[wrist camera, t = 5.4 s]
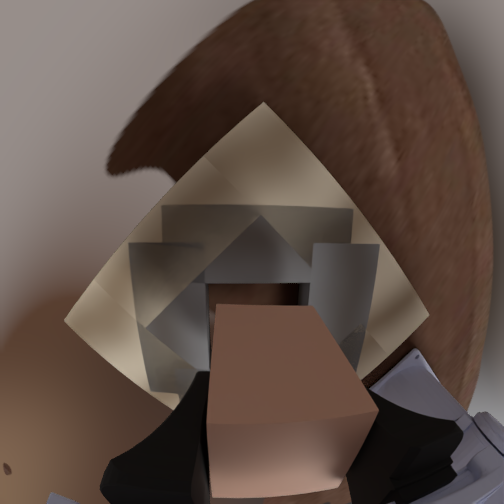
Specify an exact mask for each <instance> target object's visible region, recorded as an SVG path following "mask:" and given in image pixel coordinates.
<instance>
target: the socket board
mask: <svg viewBox="0 0 504 504" xmlns="http://www.w3.org/2000/svg"><path fill="white" fill-rule="evenodd" d="M208 283H299V293H298V305H297V306H313V307H314V308H315V310H316V311H317V313H318V314H319V316H320V317H321V319H322V320H323V322H324V324H325V325H326V327H327V328H328V330H329V331H330V333H331V334H332V336H333V338H334V339H335V341H336V342H337V344H338V345H339V347H340V348H341V350H342V352H343V353H344V355H345V356H346V358H347V359H348V361H349V363H350V364H351V366H352V367H353V369H354V371H355V372H356V374H357V375H358V377H359V379H360V380H362V379H363V378H364V377H365V376H366V375H368V374H369V373H370V372H371V371H372V370H373V369H375V368H376V367H377V366H378V365H379V364H380V363H381V362H382V361H384V360H385V359H386V358H387V357H388V356H389V355H390V354H391V353H392V352H393V351H394V350H395V349H396V348H398V347H399V346H400V345H401V344H402V343H403V342H404V341H405V340H406V339H407V338H408V337H409V336H410V335H411V334H412V333H413V332H414V331H415V330H416V329H417V328H418V327H419V326H420V324H421V323H422V322H423V321H424V320H425V319H426V318H427V317H428V316H429V313H428V312H427V310H426V308H425V306H424V305H423V303H422V301H421V300H420V298H419V296H418V295H417V293H416V292H415V290H414V288H413V287H412V285H411V283H410V282H409V280H408V279H407V277H406V276H405V274H404V273H403V271H402V269H401V268H400V266H399V265H398V263H397V262H396V260H395V259H394V257H393V256H392V254H391V253H390V252H389V250H388V249H387V247H386V246H385V244H384V243H383V242H382V240H381V239H380V237H379V236H378V234H377V233H376V232H375V230H374V229H373V228H372V226H371V225H370V224H369V222H368V221H367V219H366V218H365V217H364V215H363V214H362V213H361V212H360V210H359V209H358V208H357V206H356V205H355V204H354V202H353V201H352V200H351V199H350V197H349V196H348V195H347V194H346V192H345V191H344V190H343V189H342V187H341V186H340V185H339V184H338V182H337V181H336V180H335V179H334V178H333V176H332V175H331V174H330V173H329V172H328V171H327V169H326V168H325V167H324V166H323V165H322V164H321V162H320V161H319V160H318V159H317V158H316V157H315V155H314V154H313V153H312V152H311V151H310V150H309V149H308V148H307V147H306V145H305V144H304V143H303V142H302V141H301V140H300V139H299V138H298V137H297V136H296V135H295V133H294V132H293V131H292V130H291V129H290V128H289V127H288V126H287V125H286V124H285V123H284V122H283V121H282V120H281V119H280V118H279V117H278V116H277V115H276V114H275V113H274V112H273V111H272V110H271V109H270V108H269V107H268V106H267V105H266V104H265V103H264V102H263V103H262V104H261V105H260V106H258V107H257V108H256V109H255V110H254V111H252V112H251V113H250V114H249V115H248V116H247V117H245V118H244V119H243V120H242V121H241V122H240V123H239V124H237V125H236V126H235V127H234V128H233V129H232V130H231V131H230V132H228V133H227V134H226V135H225V136H224V137H223V138H222V139H221V140H220V141H219V142H218V143H216V144H215V145H214V146H213V147H212V148H211V149H210V150H209V151H208V152H207V153H206V154H205V155H204V156H203V157H202V158H201V159H200V160H199V161H198V162H197V163H196V164H195V165H194V166H193V167H192V168H191V169H190V170H189V171H188V172H187V173H186V174H185V175H184V176H183V177H182V178H181V179H180V180H179V181H178V182H177V183H176V184H175V185H174V186H173V187H172V188H171V189H170V190H169V191H168V192H167V194H165V195H164V196H163V198H162V199H161V200H160V201H159V202H158V203H157V204H156V205H155V206H154V207H153V209H151V211H150V212H149V213H148V214H147V215H146V216H145V217H144V218H143V220H142V221H141V222H140V223H139V224H138V225H137V227H136V228H135V229H134V230H133V231H132V232H131V233H130V235H129V236H128V237H127V238H126V239H125V241H124V242H123V243H122V244H121V245H120V247H119V248H118V249H117V250H116V251H115V253H114V254H113V255H112V256H111V258H110V259H109V260H108V261H107V263H106V264H105V265H104V267H103V268H102V269H101V270H100V272H99V273H98V274H97V276H96V277H95V278H94V280H93V281H92V282H91V283H90V285H89V286H88V287H87V289H86V290H85V292H84V293H83V294H82V296H81V297H80V299H79V300H78V301H77V303H76V304H75V306H74V307H73V308H72V310H71V311H70V313H69V314H68V316H67V317H66V319H65V320H64V321H65V322H66V323H67V324H68V325H69V326H70V327H71V328H72V329H73V330H74V331H75V332H76V333H77V334H78V335H79V336H80V337H81V338H82V339H83V340H85V342H86V343H88V344H89V345H90V346H91V347H92V348H93V349H94V350H95V351H97V352H98V353H99V354H100V355H101V356H102V357H103V358H105V359H106V360H107V361H108V362H109V363H110V364H112V365H113V366H114V367H115V368H117V369H118V370H119V371H121V372H122V373H123V374H124V375H125V376H127V377H128V378H129V379H130V380H132V381H133V382H134V383H136V384H137V385H138V386H140V387H141V388H142V389H144V390H145V391H147V392H148V393H149V394H151V395H152V396H154V397H155V398H157V399H158V400H159V401H161V402H162V403H164V404H165V405H167V406H168V407H170V408H171V409H173V410H174V409H175V408H176V406H177V405H178V404H179V402H180V401H181V399H182V398H183V396H184V395H185V393H186V392H187V390H188V388H189V387H190V385H191V383H192V381H193V379H194V377H195V374H196V373H197V372H198V371H210V368H211V356H212V350H211V344H210V325H209V324H210V322H209V294H208Z"/></svg>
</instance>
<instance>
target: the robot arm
mask: <svg viewBox="0 0 504 504" xmlns="http://www.w3.org/2000/svg"><path fill="white" fill-rule="evenodd" d="M209 380H210V371H198V372H197V373H196V374H195V377H194V379H193V381H192V383H191V385H190V387H189V388H188V390H187V392H186V393H185V395H184V396H183V398H182V399H181V401H180V402H179V404H178V405H177V406H176V408H175V409H174V410H173V412H172V413H171V414H170V415H169V416H168V418H167V419H166V420H165V421H164V422H163V423H162V424H161V425H160V426H159V427H158V428H157V429H156V430H155V431H154V432H153V433H152V434H150V435H149V436H148V437H147V438H145V439H144V440H143V441H142V442H140V443H138V444H137V445H136V446H134V447H133V448H131V449H130V450H129V451H127V452H125V453H123V454H121V455H119V456H117V457H115V458H114V459H111V460H110V462H109V464H108V466H107V468H106V470H105V472H104V475H103V478H102V481H101V484H100V491H101V493H102V494H103V496H104V497H105V498H106V499H107V500H108V501H109V503H110V504H210V490H209V454H208V440H207V425H206V421H207V407H208V393H209ZM364 387H365V388H366V390H367V391H368V393H369V395H370V396H371V398H372V399H373V401H374V403H375V404H376V406H377V407H378V409H379V412H378V414H377V416H376V418H375V420H374V422H373V425H372V427H371V429H370V431H369V433H368V435H367V437H366V439H365V441H364V443H363V445H362V446H361V448H360V450H359V452H358V454H357V456H356V458H355V459H354V461H353V463H352V465H351V466H350V468H349V470H348V472H347V473H346V477H347V481H348V485H349V490H350V495H351V500H352V504H504V427H503V426H502V425H501V424H500V423H499V422H498V421H497V420H496V419H495V418H494V417H493V416H492V415H491V414H489V413H488V412H482V413H480V412H478V413H477V414H476V415H475V416H474V417H472V416H470V415H469V414H468V413H467V412H466V411H465V409H464V408H463V407H462V406H461V405H460V404H459V403H458V402H457V401H456V400H455V399H454V397H453V396H452V395H451V394H450V393H449V392H448V391H447V390H446V389H445V388H444V387H443V386H442V385H441V383H440V382H439V380H438V379H437V377H436V376H435V374H434V372H433V371H432V369H431V368H430V366H429V365H428V363H427V362H426V360H425V359H424V357H423V356H422V354H421V353H420V351H419V350H418V349H417V348H415V349H413V350H412V351H411V352H410V353H408V354H407V355H406V356H405V357H404V358H403V359H402V360H401V361H400V362H399V363H398V364H397V365H396V366H395V367H394V368H392V369H391V370H390V371H389V372H388V373H387V374H386V375H385V376H383V377H382V378H381V379H380V380H379V381H378V382H376V383H375V384H374V385H373V386H372V387H370V388H367V387H366V386H364ZM46 504H79V503H78V502H76V501H73V500H71V499H68V498H66V497H63V496H60V495H58V494H55V493H53V492H52V493H50V495H49V498H48V501H47V503H46Z"/></svg>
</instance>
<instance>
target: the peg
mask: <svg viewBox="0 0 504 504" xmlns="http://www.w3.org/2000/svg"><path fill="white" fill-rule="evenodd" d="M378 412H379V409H378V407H377V406H376V404H375V403H374V401H373V399H372V398H371V396H370V395H369V393H368V391H367V390H366V388H365V387H364V385H363V383H362V382H361V380H360V379H359V377H358V375H357V374H356V372H355V371H354V369H353V367H352V366H351V364H350V363H349V361H348V359H347V358H346V356H345V355H344V353H343V352H342V350H341V348H340V347H339V345H338V344H337V342H336V341H335V339H334V338H333V336H332V334H331V333H330V331H329V330H328V328H327V327H326V325H325V324H324V322H323V320H322V319H321V317H320V316H319V314H318V313H317V311H316V310H315V308H314V307H313V306H280V305H236V304H216V313H215V324H214V334H213V346H212V356H211V368H210V380H209V393H208V407H207V421H206V425H207V440H208V454H209V466H210V477H211V488H212V497H215V498H257V497H274V496H285V495H295V494H303V493H310V492H316V491H322V490H328V489H333V488H338V486H339V485H340V483H341V481H342V480H343V478H344V477H345V475H346V473H347V472H348V470H349V468H350V466H351V465H352V463H353V461H354V459H355V458H356V456H357V454H358V452H359V450H360V448H361V446H362V445H363V443H364V441H365V439H366V437H367V435H368V433H369V431H370V429H371V427H372V425H373V422H374V420H375V418H376V416H377V414H378Z"/></svg>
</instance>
